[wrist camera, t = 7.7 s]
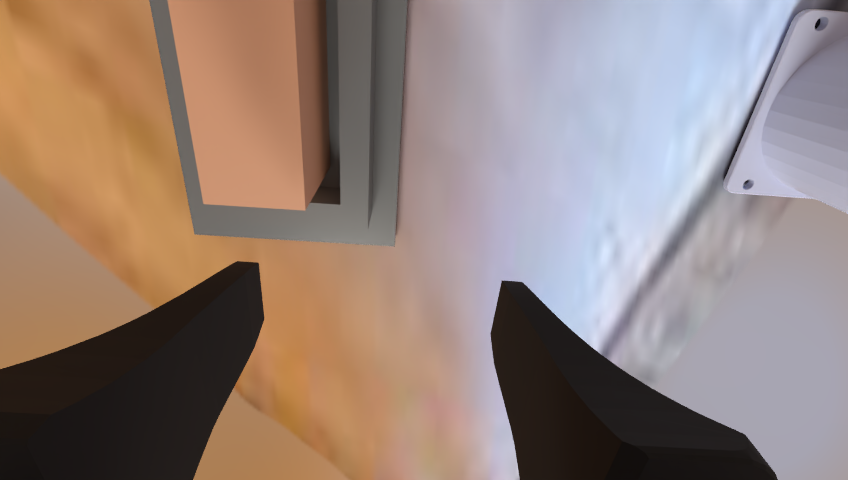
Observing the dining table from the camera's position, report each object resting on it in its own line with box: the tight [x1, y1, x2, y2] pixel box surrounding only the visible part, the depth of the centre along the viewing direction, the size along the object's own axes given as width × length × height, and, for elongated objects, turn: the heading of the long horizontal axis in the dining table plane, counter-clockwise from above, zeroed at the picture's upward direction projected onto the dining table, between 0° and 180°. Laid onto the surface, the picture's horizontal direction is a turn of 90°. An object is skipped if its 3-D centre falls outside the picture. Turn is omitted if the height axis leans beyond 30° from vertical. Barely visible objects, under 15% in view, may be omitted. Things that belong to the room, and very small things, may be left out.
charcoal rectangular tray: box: [149, 0, 408, 246], centre depth 17 cm, size 10×18×3 cm, turn 176°
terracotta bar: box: [167, 0, 330, 211], centre depth 15 cm, size 4×10×5 cm, turn 176°
